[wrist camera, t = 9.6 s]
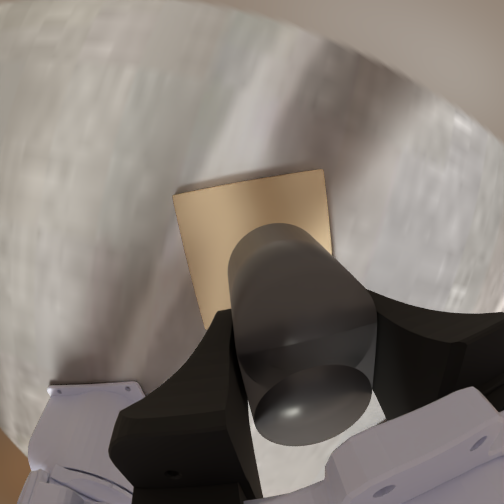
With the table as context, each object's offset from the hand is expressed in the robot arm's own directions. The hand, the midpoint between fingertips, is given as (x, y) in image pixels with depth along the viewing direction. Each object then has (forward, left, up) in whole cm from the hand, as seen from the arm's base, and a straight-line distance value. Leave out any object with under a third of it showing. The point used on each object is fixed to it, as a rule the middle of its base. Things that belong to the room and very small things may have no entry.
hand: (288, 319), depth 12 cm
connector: (0, 0, -1) cm, 1 cm away
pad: (0, 0, -8) cm, 8 cm away
